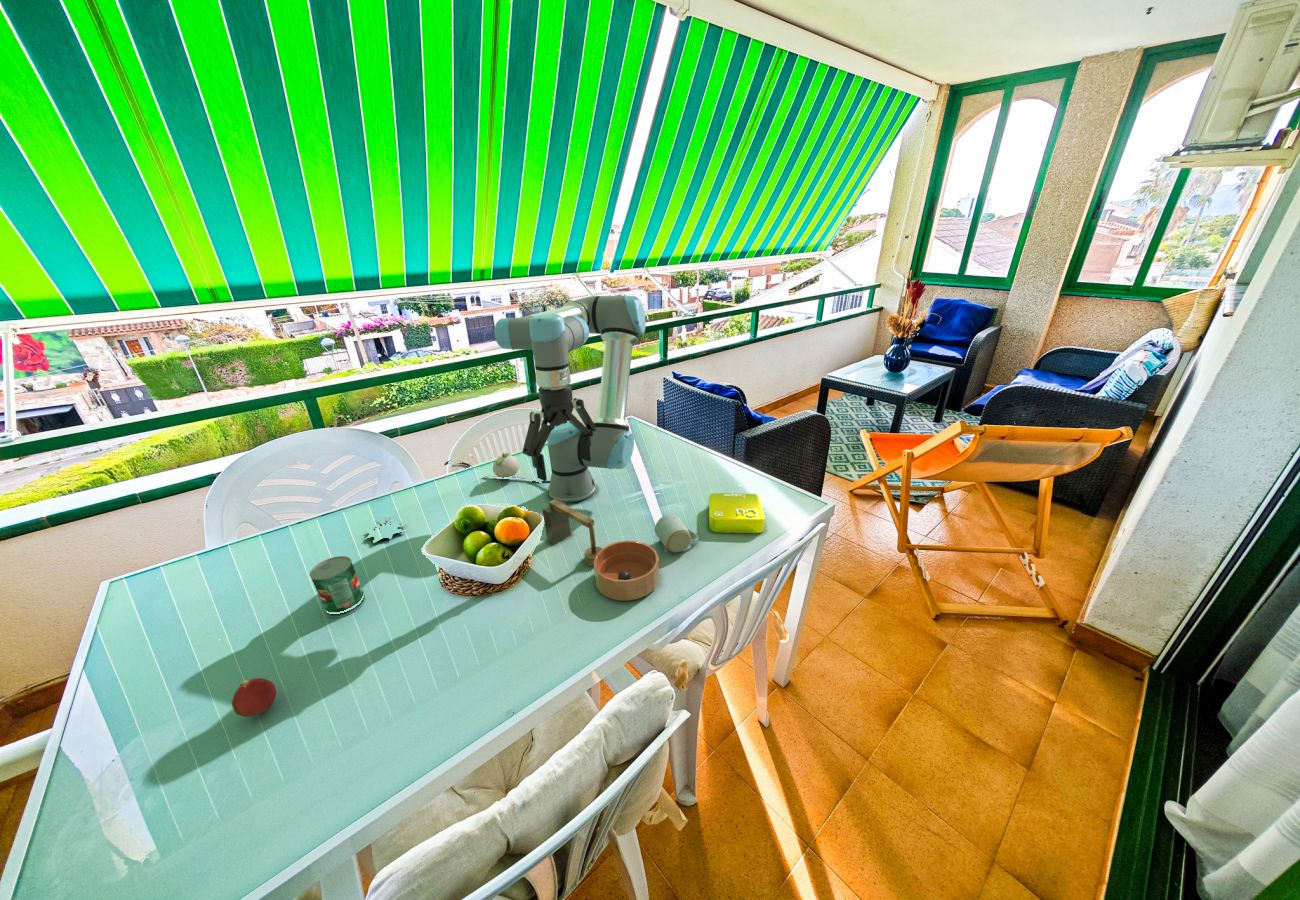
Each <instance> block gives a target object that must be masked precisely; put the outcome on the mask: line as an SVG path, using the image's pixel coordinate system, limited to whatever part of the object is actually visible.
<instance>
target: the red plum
mask: <svg viewBox="0 0 1300 900" xmlns="http://www.w3.org/2000/svg"><path fill="white" fill-rule="evenodd" d="M277 693H278V692H277V688H276V684H275V683H274V682H273V681H271V680H270V679H267V678H263V677H257V678H251V679H245V680H243V681H242V682H241V683H240V684H239V686H238V688H237V690H236V691H235V692H234V695H233V697H232V699H231V706H232V709H233V711H234V713H235V714H236V715H237V716H241V717H244V718H249V717H255V716H258V715H264V714H265V713H266V712H267V711H268V710H269V709H270V708H271V707H272V705H273V704H274V702H275V700H276V698H277Z"/></svg>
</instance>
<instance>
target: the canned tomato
mask: <svg viewBox="0 0 1300 900" xmlns="http://www.w3.org/2000/svg"><path fill="white" fill-rule="evenodd" d="M309 577H310V579H311V582H312V583H313V586H314V588H315V591H316V592H317V595H318V598H319V599H320V600H319V601H320V602H321V604H322V606H323V609H324V611H325V610H326V611H328V612H340V611H344V610H346V609H348V608H351V607H352V606H354V605H355V604H357V603H358V602H359V601H360V600H361V598H362V596H363V593H364V590H363V587H362V585H361V582H360V580H359V577H358V575H357V571H356V570H355V568H354V565H353V562H352V559H351V558H350V557H349V556H347V555H339V556H338V555H337V556H333V557H330V558H327V559H324V560H323V561H320V562H318V563H317V564H316V565H315V566H313V568H311V570H310V571H309ZM365 602H366V595H365V594H364V598H363V600H362V601H361V603H360V604H359V605H357V606H356V607H355V608H353V609H351V610H349V611H347V612H344V613H340V614H329V613H327V612H326V611H325V614H326V616H327V617H329V618H334V619H335V618H342V617H343V618H344V617H347V616H349V615H351V614H353V613H355V612H356V611H358V610H359V609H360V608H361V607H362V606H363V605H364V604H365Z"/></svg>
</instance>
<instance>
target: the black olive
mask: <svg viewBox="0 0 1300 900" xmlns="http://www.w3.org/2000/svg"><path fill="white" fill-rule="evenodd" d="M629 579H630V574H629V573H628V572H627V571H622V572H620V573H619V575H618V580H629Z"/></svg>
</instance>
